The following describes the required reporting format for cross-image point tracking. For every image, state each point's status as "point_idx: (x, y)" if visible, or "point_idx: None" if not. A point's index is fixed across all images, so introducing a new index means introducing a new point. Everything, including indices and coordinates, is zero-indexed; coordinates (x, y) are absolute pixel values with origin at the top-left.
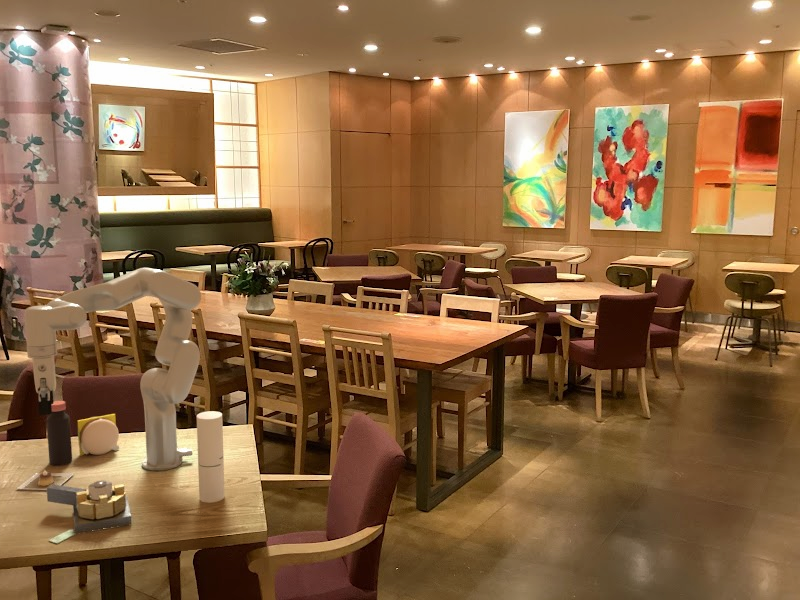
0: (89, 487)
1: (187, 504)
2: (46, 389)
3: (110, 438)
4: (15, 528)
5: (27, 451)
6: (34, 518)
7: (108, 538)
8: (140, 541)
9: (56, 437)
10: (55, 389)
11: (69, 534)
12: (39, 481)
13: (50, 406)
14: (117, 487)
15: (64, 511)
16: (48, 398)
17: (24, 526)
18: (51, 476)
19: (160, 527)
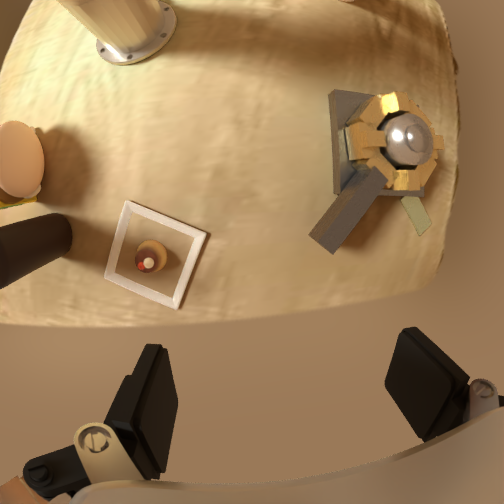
0: (417, 162)
1: (357, 18)
2: (142, 468)
3: (26, 134)
4: (356, 290)
5: (17, 294)
6: (331, 263)
7: (437, 150)
8: (452, 114)
9: (35, 254)
10: (480, 421)
11: (416, 204)
12: (157, 270)
13: (439, 355)
14: (409, 106)
15: (322, 210)
16: (493, 393)
17: (356, 277)
18: (149, 247)
19: (424, 76)
